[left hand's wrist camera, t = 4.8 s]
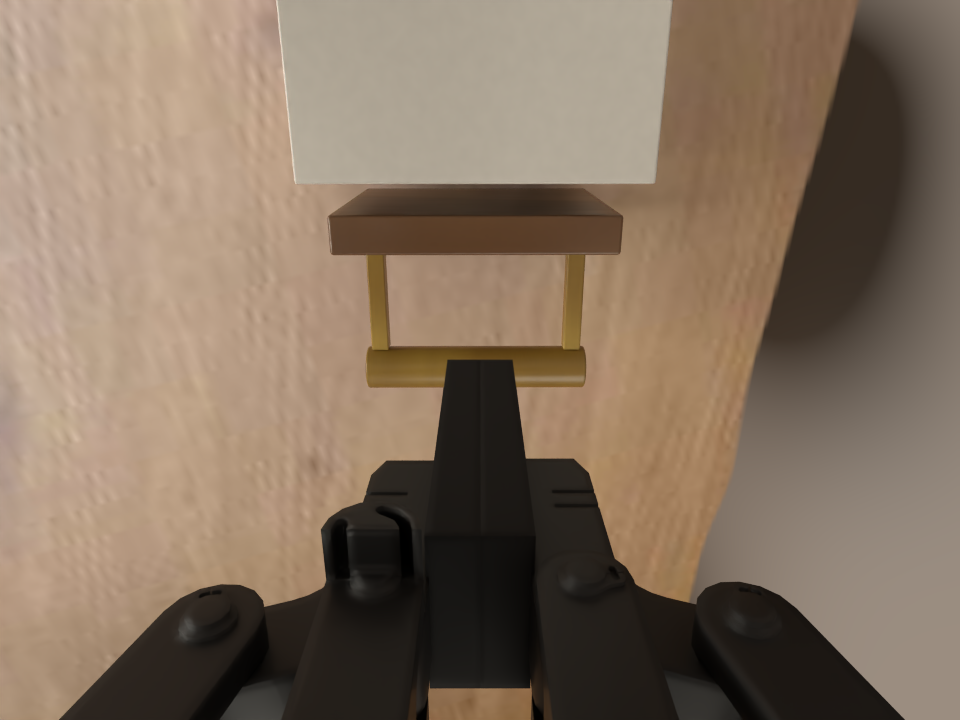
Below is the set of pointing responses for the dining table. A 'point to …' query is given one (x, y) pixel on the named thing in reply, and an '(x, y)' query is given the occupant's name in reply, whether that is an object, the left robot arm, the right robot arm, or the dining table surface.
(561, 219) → the drawer
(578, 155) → the cream rectangular box
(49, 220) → the dining table surface
